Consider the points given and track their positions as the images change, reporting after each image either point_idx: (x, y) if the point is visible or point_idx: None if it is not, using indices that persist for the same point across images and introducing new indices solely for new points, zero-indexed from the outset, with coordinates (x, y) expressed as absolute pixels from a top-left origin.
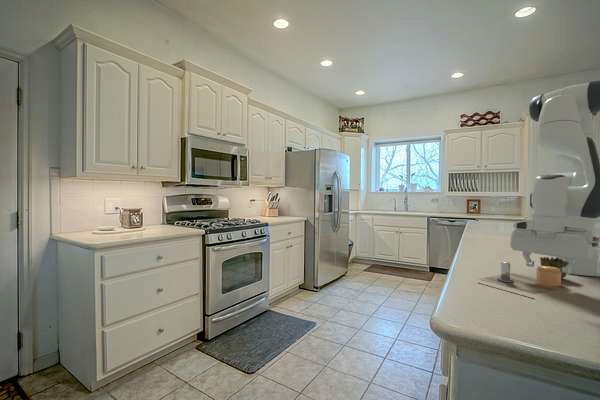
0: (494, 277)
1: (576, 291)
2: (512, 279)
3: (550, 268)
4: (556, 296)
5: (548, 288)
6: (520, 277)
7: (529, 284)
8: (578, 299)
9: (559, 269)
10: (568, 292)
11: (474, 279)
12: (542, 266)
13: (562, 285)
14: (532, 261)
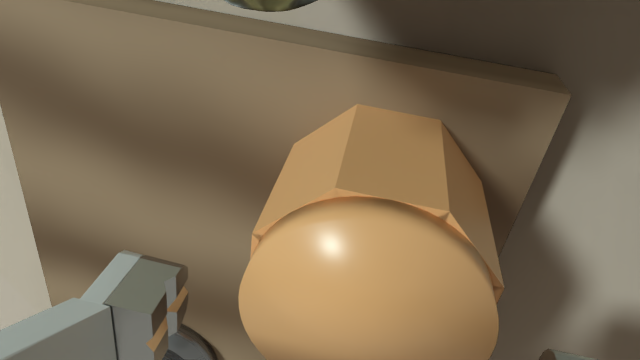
0: None
1: (605, 54)
2: (187, 344)
3: (391, 352)
4: None
5: None
6: (136, 158)
7: None
8: (605, 312)
9: (490, 334)
10: None
11: (16, 317)
12: (282, 301)
13: (492, 161)
14: (149, 341)
